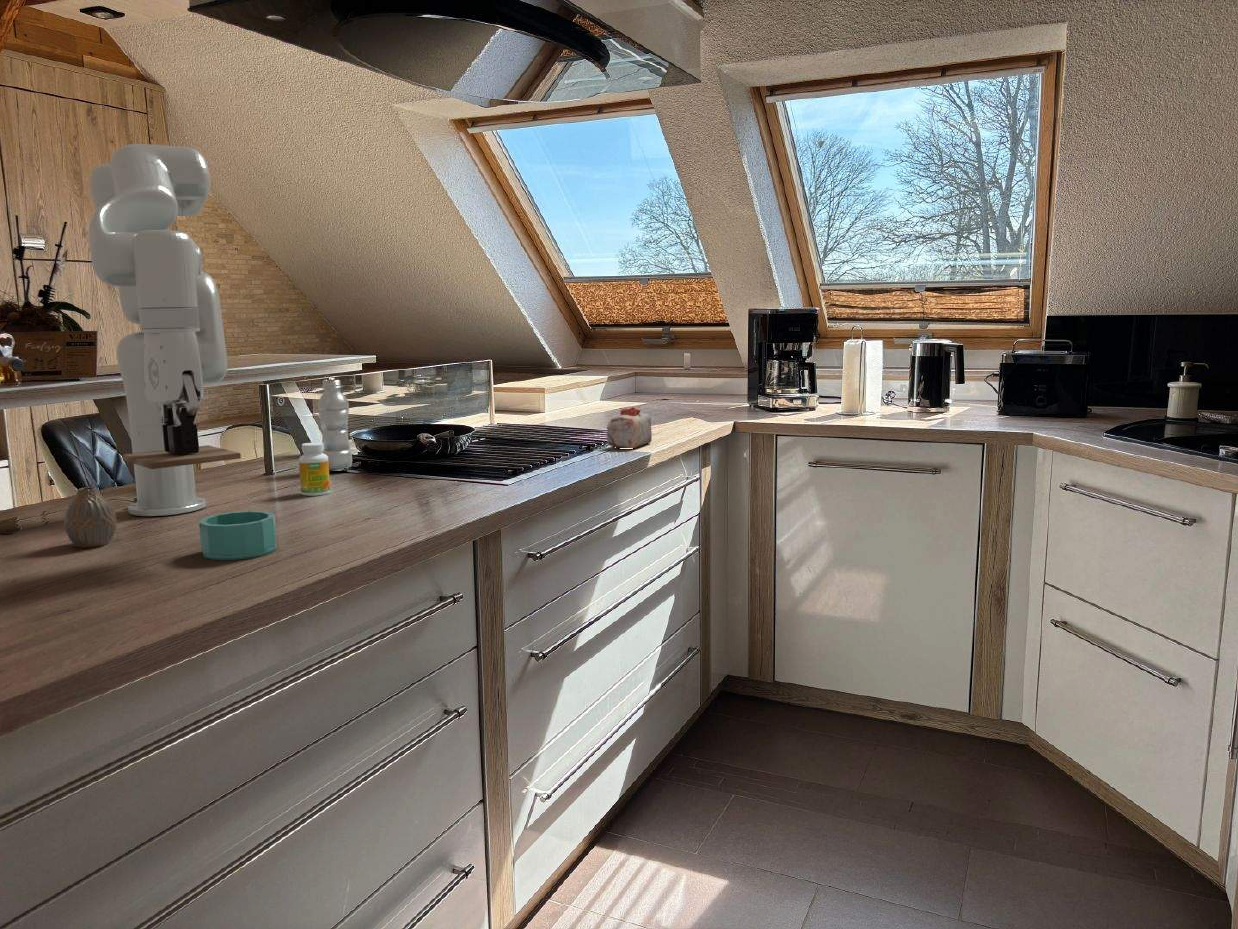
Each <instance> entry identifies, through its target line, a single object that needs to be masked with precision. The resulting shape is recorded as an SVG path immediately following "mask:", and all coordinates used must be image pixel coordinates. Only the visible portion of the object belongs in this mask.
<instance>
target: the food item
mask: <svg viewBox="0 0 1238 929" xmlns="http://www.w3.org/2000/svg"><path fill="white" fill-rule="evenodd" d="M619 411H620V412H619V413H620V415H618V416H615V417H613V418H611V419H610V421H609V422H608V424H607V425H606V429H607V431H606V439H607V440H606V442H607V444H608V445H609V446H611V448H612V447H616V448H635V449H637V448H640V447H642V446H645V445H648V444H650V443H652V436H653V435H652V433H653V432H652V418H651V417H652V415H651V413H648V412H645V411H641V410H640V409H638V408H635V407H630V408H623V407H620V408H619ZM647 443H648V444H647ZM644 444H645V445H644ZM639 446H640V447H639ZM616 448H615V449H616Z"/></svg>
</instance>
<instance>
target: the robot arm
mask: <svg viewBox="0 0 1238 929" xmlns="http://www.w3.org/2000/svg"><path fill="white" fill-rule="evenodd" d="M89 185H90V186H89V188H90V193H91V197H92V200H93V205H94V208H95V211H94V213H93V215H92V217H91V219H90V222H89V225H88V244H89V252H90V259H91V264H92V268H93V272H94V273H95V276H96V277H97V278H98V280H99V281H101V282H102V283H104V284H105V285H108V286H110V287H118V294H119V296H118V297H119V301H120V306H121V311H122V313H123V316H124V317H125V319H126V320H127V321H128V322H129V323H132V324H136V325H139V328H140V331H138V332H134V333H130V334H127V335H126V336H124V337H122V338H121V339H120V340H119V342H118V343H117V346H116V359H117V365H118V369H119V372H120V376H121V379H122V383H123V388H124V393H125V399H126V405H127V406H126V407H127V412H128V414H127V415H128V421H129V422H128V423H129V429H130V430H129V431H130V439H131V448H132V449H131V451H132V454H133V453H142V452H152V451H161V450H165V451H166V452H169V441H168V431H167V426H171V425H175V426H172V433H173V444H174V453H175V454H176V455H183V454H192V453H198V452H199V437H198V436H199V435H198V434H199V433H198V417H197V414H198V410H199V409H200V402H201V401H202V400H203V398H204V385H206V384H207V385H208V384H215V383H219V382H221V381H222V380H223V379H224V378H225V377H226V375H227V374H228V373H227V372H228V356H227V346H226V340H225V339H226V338H225V330H224V324H223V316H222V307H221V306H222V305H221V301H220V294H219V289H218V286H217V284H216V282H215V280H214V278H213V277H212V276H211V275H210V274H209V273H206V272H204V271H203V261H204V260H203V256H202V250H201V248H200V246H198V245H197V244H196V242H195V241H194V240H193V238H192V237H190V236H189V234H188V233H186V232H183V231H182V230H181V231H180V230H173V229H172V230H171V229H169V228H170V227H171V226H172V225H173V224H174V223H175V221H176V220H177V218H178V217H193V216H194V217H195V216H197V215H198V214H200V213H201V212H202V210H203V208H204V206H205V204H206V202H207V200H208V198H209V195H210V190H211V173H210V170H209V165H208V163H207V161H206V159H205V156H203V155H202V154H201V152H199V151H198V150H197V149H195V148H192V147H189V146H180V145H179V146H178V145H165V144H164V145H163V144H150V143H149V144H145V143H130V144H125V145H123V146H121V147H119V148H118V149H116V150H115V152H114V153H113V154H112V156H111V157H110V162H109V163H105V164H100V165H98V166H96V167H95V168H94V169H92V171H91V173H90V176H89ZM133 468H134V469H133V471H134V478H135V479H134V480H135V490H136V498H137V500H136V501H137V502H135V503H132V504H129V506H128V508H127V509H128V510H127V511H128V513H129V515H133V516H136V517H137V516H140V517H158V516H159V517H161V516H163V517H164V516H171V515H181V514H185V513H186V514H187V513H190V512H195V511H198V510H201V509H203V508H205V507H206V506H207V501H206V499H205V498H203V497H199V496H197V493H196V484H195V473H194V472H195V471H194V464H191V465H183V466H174V467H166V468H158V469H149V468H146V467H143V466H140V465H137V464H133Z"/></svg>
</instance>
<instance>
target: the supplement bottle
mask: <svg viewBox="0 0 1238 929" xmlns="http://www.w3.org/2000/svg"><path fill="white" fill-rule="evenodd" d="M323 451H324V445H323V443H322V442H305V443H302V444H301V452H302V453H303V454H302V455H300V456H299V458H298V467H299V479H300V480H299V482H300V493H301V495H302V496H308V497H318V496H319V495H320V496H325V495H328V494H330V493H331V481H330V471H329V463H328V456H327V455H326V454H323ZM329 492H330V493H329Z"/></svg>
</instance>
